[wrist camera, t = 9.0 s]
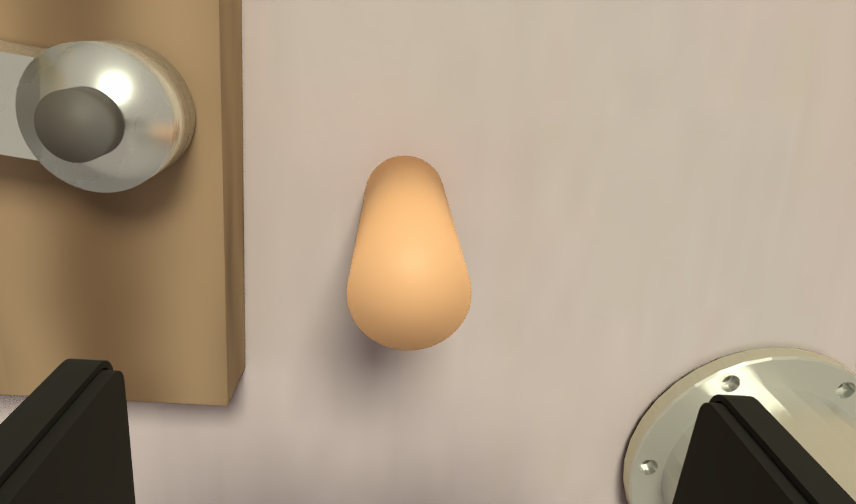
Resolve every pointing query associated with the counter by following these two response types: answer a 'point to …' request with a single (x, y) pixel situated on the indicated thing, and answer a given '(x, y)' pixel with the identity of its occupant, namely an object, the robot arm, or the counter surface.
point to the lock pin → (407, 259)
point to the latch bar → (123, 82)
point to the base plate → (129, 216)
